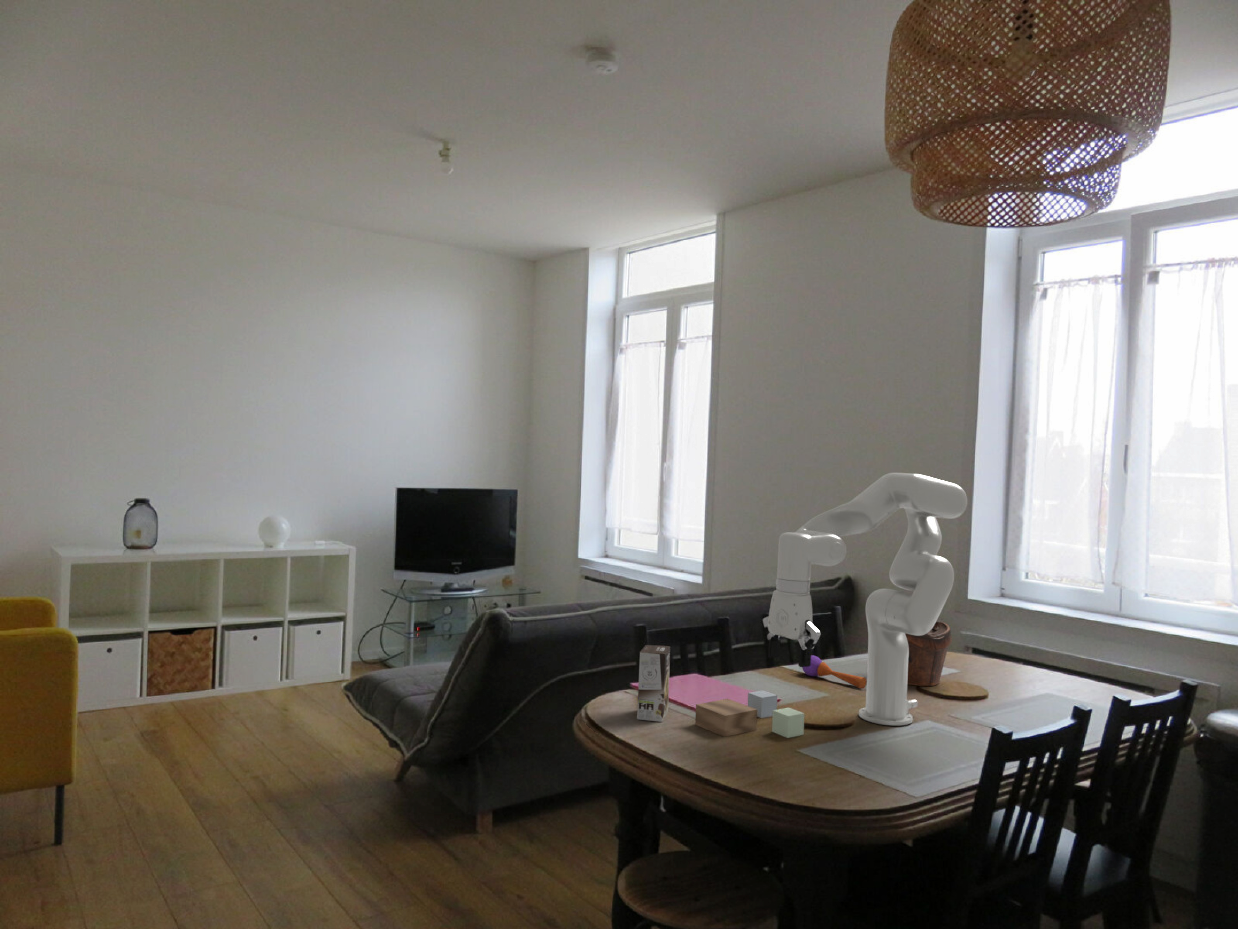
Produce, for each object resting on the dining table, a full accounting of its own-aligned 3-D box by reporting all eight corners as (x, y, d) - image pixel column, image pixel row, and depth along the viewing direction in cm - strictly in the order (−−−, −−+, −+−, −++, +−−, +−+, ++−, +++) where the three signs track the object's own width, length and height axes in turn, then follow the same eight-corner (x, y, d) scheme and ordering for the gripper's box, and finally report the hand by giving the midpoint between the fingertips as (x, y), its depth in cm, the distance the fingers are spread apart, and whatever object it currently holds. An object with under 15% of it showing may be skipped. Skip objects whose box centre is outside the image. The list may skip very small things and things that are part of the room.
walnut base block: (726, 719, 213) (727, 698, 213) (756, 731, 205) (757, 709, 205) (695, 725, 207) (695, 704, 207) (724, 738, 199) (725, 715, 199)
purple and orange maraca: (856, 676, 243) (797, 656, 258) (856, 697, 244) (797, 675, 259) (869, 670, 247) (810, 650, 261) (869, 690, 248) (810, 669, 263)
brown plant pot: (957, 678, 260) (958, 617, 260) (941, 693, 243) (943, 628, 243) (895, 669, 270) (897, 610, 269) (876, 683, 253) (877, 620, 253)
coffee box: (663, 722, 208) (665, 653, 208) (636, 720, 209) (638, 651, 209) (669, 711, 217) (671, 645, 216) (643, 709, 218) (645, 643, 218)
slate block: (762, 710, 221) (763, 690, 221) (776, 715, 217) (777, 695, 217) (747, 713, 218) (748, 692, 218) (761, 718, 214) (762, 697, 214)
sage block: (787, 729, 207) (788, 707, 207) (803, 735, 203) (804, 713, 202) (772, 732, 204) (772, 710, 204) (787, 738, 200) (788, 716, 200)
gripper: (754, 582, 208) (750, 655, 208) (809, 593, 193) (804, 671, 193) (778, 581, 212) (774, 652, 212) (833, 592, 198) (828, 669, 198)
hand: (788, 661), depth 203 cm, fingers open, 9 cm apart
